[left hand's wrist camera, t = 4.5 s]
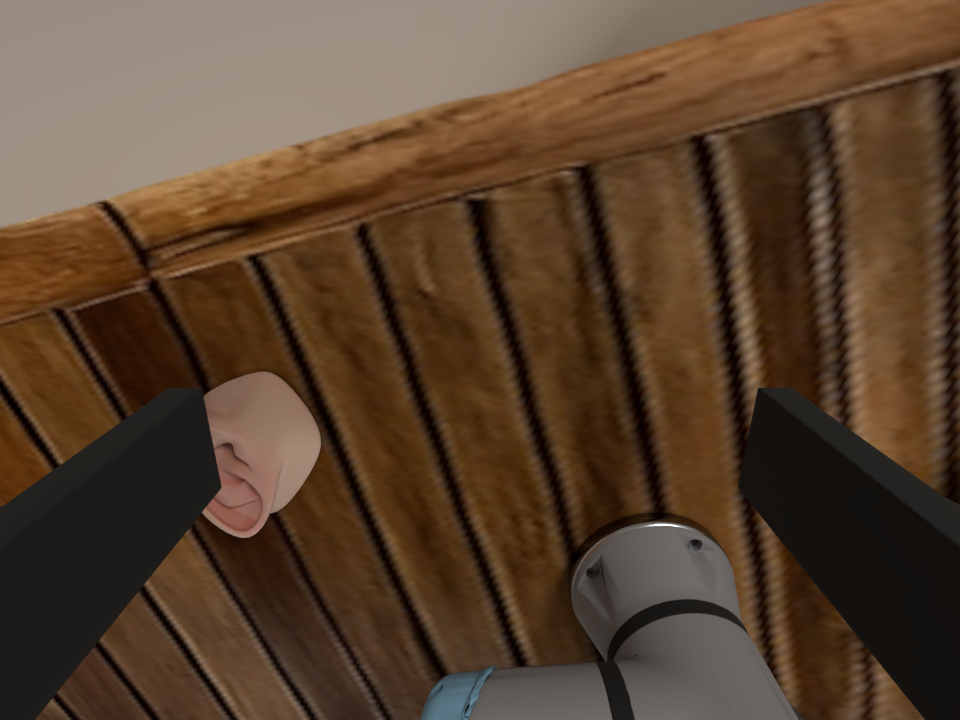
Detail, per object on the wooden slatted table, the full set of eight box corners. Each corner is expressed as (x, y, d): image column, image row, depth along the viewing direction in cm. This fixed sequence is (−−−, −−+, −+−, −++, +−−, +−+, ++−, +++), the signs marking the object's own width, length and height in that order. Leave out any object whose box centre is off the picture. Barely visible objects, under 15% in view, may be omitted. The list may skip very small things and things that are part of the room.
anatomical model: (221, 366, 39) (342, 458, 42) (244, 348, 43) (354, 434, 45) (129, 476, 42) (247, 555, 45) (158, 451, 46) (265, 525, 49)
